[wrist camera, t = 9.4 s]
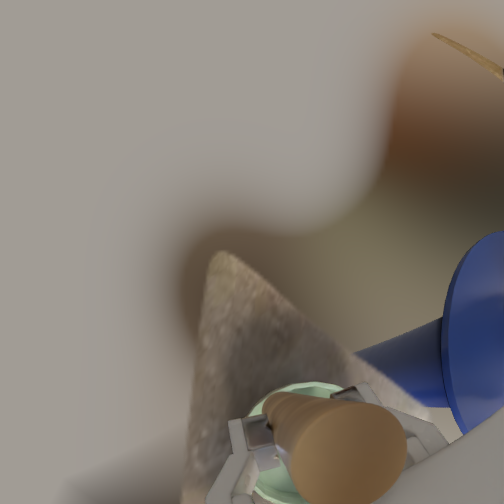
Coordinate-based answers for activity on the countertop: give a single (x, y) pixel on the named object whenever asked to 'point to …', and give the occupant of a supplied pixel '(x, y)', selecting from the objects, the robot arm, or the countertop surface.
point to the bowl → (277, 479)
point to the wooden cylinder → (336, 447)
